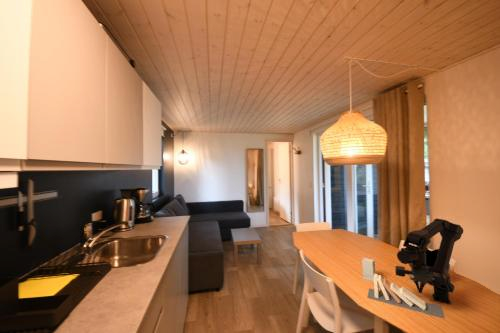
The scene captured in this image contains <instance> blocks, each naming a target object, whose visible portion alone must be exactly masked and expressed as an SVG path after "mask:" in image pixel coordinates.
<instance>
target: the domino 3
mask: <svg viewBox="0 0 500 333" xmlns="http://www.w3.org/2000/svg"><path fill="white" fill-rule="evenodd" d="M382 284H383V285H384V286H385V288H386V289H387V290H388V292H389V293H390V294H391V295H392V296H393V298H394V299H395V300H396V301H397V303H400V302H401V298H400V297H399V296H398V295H397V294H396V293H394V292H393V291H392V290H391V289H390V287H391V283H390V281H389V280H388V279H387V278H386V277H384V278H383V283H382Z"/></svg>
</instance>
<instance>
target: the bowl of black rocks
mask: <svg viewBox="0 0 500 333" xmlns="http://www.w3.org/2000/svg"><path fill="white" fill-rule="evenodd" d="M438 251H439V248H437V249H436V248H435V249H433V250H431V249H428V250H426V269H427V271H428V268H429V267H433V266H434V265H435V262H436V258H437V254H438ZM408 265H409V267H410V268H411V263H409V264H408ZM450 268H451V265H450V263H449V266H448V270H447V271H448V272H449V271H450Z"/></svg>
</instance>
